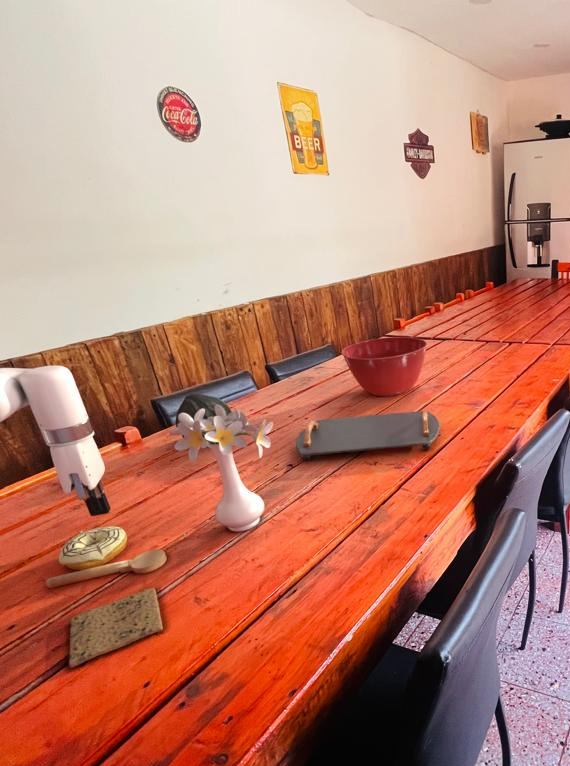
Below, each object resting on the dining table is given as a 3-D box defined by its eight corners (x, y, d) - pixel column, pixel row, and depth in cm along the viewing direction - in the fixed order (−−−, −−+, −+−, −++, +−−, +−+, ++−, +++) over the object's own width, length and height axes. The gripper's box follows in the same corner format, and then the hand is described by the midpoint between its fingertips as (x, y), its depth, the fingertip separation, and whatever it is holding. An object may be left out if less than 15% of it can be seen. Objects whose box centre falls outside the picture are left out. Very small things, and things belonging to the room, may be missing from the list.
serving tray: (289, 466, 128) (284, 443, 126) (307, 429, 149) (303, 409, 146) (442, 452, 131) (440, 430, 129) (439, 418, 152) (437, 398, 149)
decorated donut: (51, 577, 93) (42, 560, 91) (84, 542, 102) (76, 526, 101) (112, 569, 94) (104, 552, 92) (138, 535, 104) (132, 520, 102)
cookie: (164, 629, 79) (162, 625, 79) (69, 669, 73) (66, 664, 73) (156, 588, 88) (154, 584, 88) (70, 620, 82) (68, 616, 82)
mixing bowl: (333, 391, 179) (325, 348, 172) (400, 372, 195) (395, 332, 189) (377, 411, 159) (370, 363, 153) (447, 387, 176) (444, 343, 170)
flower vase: (287, 534, 101) (258, 418, 91) (190, 546, 99) (147, 429, 88) (298, 500, 113) (273, 394, 102) (211, 510, 111) (176, 403, 100)
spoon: (42, 598, 88) (38, 590, 87) (53, 578, 93) (49, 570, 92) (164, 568, 94) (161, 560, 93) (168, 551, 98) (165, 543, 97)
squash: (237, 405, 155) (190, 377, 145) (248, 421, 144) (197, 392, 134) (208, 442, 154) (158, 416, 144) (216, 462, 143) (163, 435, 133)
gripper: (57, 420, 102) (90, 499, 110) (29, 450, 90) (67, 536, 98) (101, 415, 105) (130, 492, 113) (79, 443, 92) (113, 527, 100)
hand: (101, 512), depth 105 cm, fingers closed
